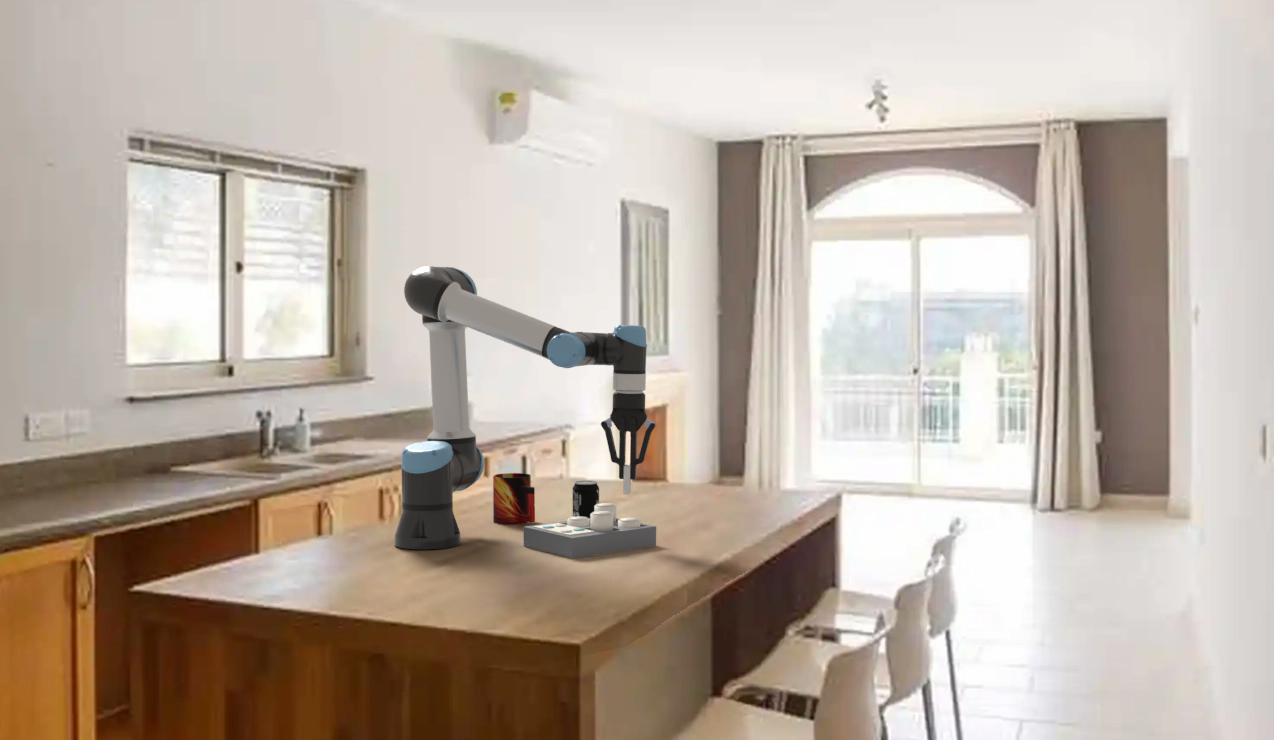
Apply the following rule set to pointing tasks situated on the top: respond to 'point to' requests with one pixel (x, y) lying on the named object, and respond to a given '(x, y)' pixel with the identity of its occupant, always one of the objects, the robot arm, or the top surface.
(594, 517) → the button
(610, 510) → the button
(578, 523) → the button
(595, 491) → the beverage can
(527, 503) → the mug
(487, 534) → the top surface
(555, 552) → the board
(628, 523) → the button
